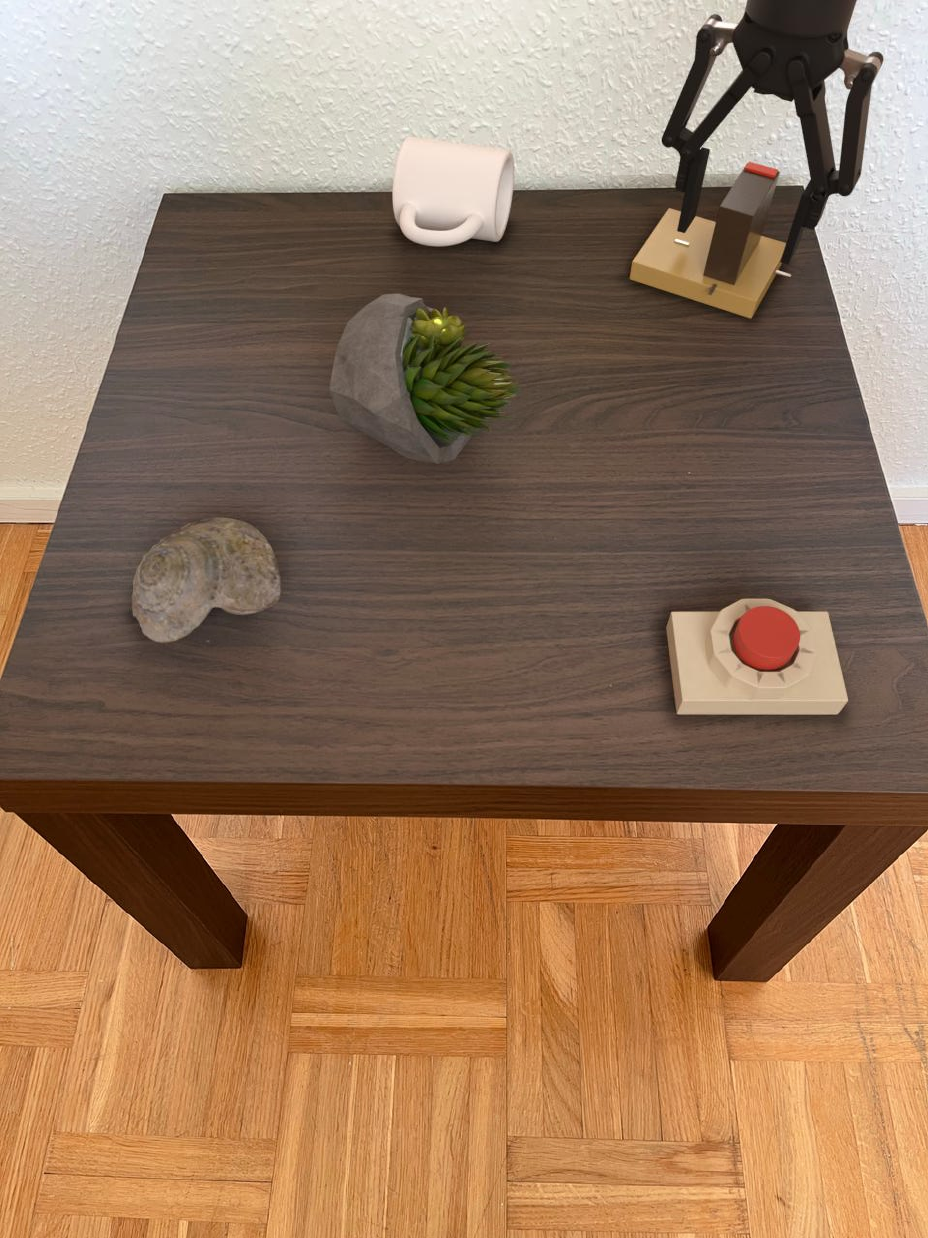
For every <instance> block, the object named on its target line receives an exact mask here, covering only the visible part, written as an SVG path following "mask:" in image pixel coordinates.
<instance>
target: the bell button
mask: <svg viewBox="0 0 928 1238" xmlns="http://www.w3.org/2000/svg"><path fill="white" fill-rule="evenodd" d="M799 642H800V631H799V628H798V625H797V624H796V622H795V621H794V619H793V618H792V617H791V616H790V615H789V614H787V613H786V612H784V611H782V610H780V609H778V608H775V607H770V606H759V607H755V608H752V609H750V610H748V611H747V612H746V613H745V614H744V615H743V616H742V617H741V619H740V621H739V623H738V625H737V627H736V630H735V632H734V635H733V646H734V649H735V651H736V653H737V655H738V656H739V657H740V658H741V660H743V661H744V662H745V663H746V664H748V665H750V666H751V667H754V668H757V669H761V670H774V669H778V668H780V667H782V666H784V665H785V664H787V663H788V661H789V660H790V659H791V657H792V655H793V654H794V652H795V650H796V649H797V647H798V645H799Z"/></svg>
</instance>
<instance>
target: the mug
mask: <svg viewBox="0 0 928 1238" xmlns="http://www.w3.org/2000/svg"><path fill="white" fill-rule="evenodd" d="M514 185H515V158H514V154H513V152H512V151H511V150H509V149H503V148H495V147H490V146H489V147H488V146H483V145H474V144H468V143H460V142H454V141H447V140H439V139H432V138H425V137H418V136H408V137H406V138H405V139H404V140H403V142H402V143H401V145H400V147H399V151H398V152H397V156H396V161H395V165H394V170H393V179H392V193H391V194H392V195H391V196H392V210H393V215H394V219H395V222H396V224H397V225H398V226H399V227H400V230H401V232H402V234H403V235H404V236H405V237H406V238H407V239H408V240H410V241H412V242H414V243H416V244H419V245H421V246H422V245H423V246H427V247H449V246H455V245H459V244H462V243H464V242H467V241H468V240H470V239H474V240H480V241H485V242H492V243H498V242H499V241H500V240H501V239H502V238H503V236H504V234H505V232H506V228H507V225H508V221H509V217H510V213H511V208H512V202H513V194H514Z"/></svg>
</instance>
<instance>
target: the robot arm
mask: <svg viewBox="0 0 928 1238" xmlns="http://www.w3.org/2000/svg"><path fill="white" fill-rule="evenodd" d="M857 1H858V0H746V3H745V10H744V12H743V16H742V17H741V19H740V20H739V22H728V21H723V18H722V17H721V16H720V15H719V14H717V13H713V14H711V15H710V16H709V17H707V19H706V21H705V22H704V23H703V25H702V26H701V27H700V29H699V30H698V31H697V33H696V38H695V48H694V50H695V51H694V59H693V63H692V65H691V67H690V69H689V71H688V74H687V76H686V79H685V81H684V84H683V85H682V86H683V87H682V89H681V91H680V93H679V96H678V98H677V100H676V103H675V104H674V108H673V109H672V112H671V115H670V117H669V120H668V122H667V124H666V126H665V129H664V131H663V134H662V136H661V144H662V146H663V147H664V148H667V149H670V148H672V149H674V150H675V151H677V153H678V155H679V163H678V168H677V174H676V179H675V182H674V183H675V184H674V185H675V191H678V192H679V193H680V192H681V193H684V195H683V199H682V205H681V209H680V211H681V214H680V219H679V224H678V228H677V231H679V232H682V233H685V232H686V231H687V229H688V228H689V226H690V224H691V223H692V221H693V220H694V218H695V217H696V216H697V212H698V208H699V203H700V199H701V194H702V189H703V185H704V180H705V175H706V170H707V166H708V162H709V157H710V153H711V149H710V148H707V147H703V145H705V144H706V142H707V141H708V140H709V138H710V137H711V136H712V135H713V133H715V131H716V130H717V129H718V127H719V126H720V125H721V124H722V123H723V121H724V120H725V119H726V117H727V116H728V115H729V114H730V113H731V111H732V110H733V109H734V108H735V107H736V106H737V104H738V103H739V102H740V101H741V99H743V97H744V96H745V95H746V94H747V93H748V91H749V90H750V89H751V88H752V89H753V93H755V94H759V95H761V96H763V95H765V96H766V95H773V96H775V97H776V98H779V99H781V100H783V101H786V102H790V103H794V108H795V113H796V116H797V117H798V118H799V122H800V127H801V132H802V133H801V134H802V138H803V144H804V149H805V154H806V161H807V166H808V171H809V178H810V180H809V182H808V183H807V185H806V186H805V188H804V190H803V192H802V194H801V196H800V199H799V203H798V205H797V209H796V212H795V214H794V218H793V221H792V224H791V227H790V230H789V233H788V236H787V239H786V242H785V243H786V245H785V248H784V252H783V255H782V258H781V261H780V262H781V263H782V264H785V265H787V266H788V265H789V264H790V262H791V261H792V259H793V256H794V255H795V254H796V252H797V250H798V248H799V245H800V242H801V239H802V236H803V233H804V231H805V229H808V230H812V231H813V230H815V228H816V227H817V226H818V225H819V222H820V221H821V219H822V217H823V215H824V211H825V209H826V206H827V204H828V200H829V198H830V196H832V195H839V196H841V197H848V196H851V194H852V193H853V192H854V189H855V187H856V185H857V183H858V182H859V180H860V178H861V175H862V171H863V170H862V169H863V160H864V154H865V153H864V152H865V144H866V137H867V128H868V121H869V114H870V113H869V112H870V103H871V97H872V87H873V84H874V82H875V80H876V78H877V76H878V74H879V72H880V70H881V68H882V66H883V63H884V55H883V54H882V53H881V52H880V51H872V52H870V53H869V54H868V55H866V54H863V53H860V52H858V51H856V50H852V49H851V48H850V46H849V40H848V30H849V26H850V23H851V20H852V17H853V14H854V11H855V8H856V4H857ZM728 44H732V46H733V49H734V51H735V53H736V56H737V59H738V61H739V64H740V67H741V69H742V70H741V71H740V73H739V74H738V75H737V76H736V78H735V79H734V80H733V81H732V82H731V84H730V85H729V86H728V88H726V90H725V91H724V92H723V94H722V95H721V96H720V98H719V99H718V100H717V102H715V104H713V105H714V106H712V108H711V109H710V110H709V111H708V113H707V114H706V115H705V117H704V118H703V119H702V120H701V122H700V123H699V124H698V125H697V126H696V128H695V129H694V130H693V131H691V130H690V129H689V128H688V127H687V126H688V124H689V121H690V119H691V116H692V114H693V112H694V110H695V107H696V105H697V103H698V100H699V98H700V96H701V94H702V91H703V89H704V87H705V85H706V82H707V80H708V78H709V75H710V73H711V71H712V69H713V68H714V64H715V62H716V60H717V57H718V56H721V55H722V54H723V52H724V51H725V50H726V49H727V47H728ZM839 69H840V70H841V71H842V72H843V75H844V78H843V85H844V87H845V89H846V90H849V92H848V94H847V99H846V101H845V108H844V109H845V110H844V118H843V128H842V139H841V149H840V157H839V158H840V159H839V166H838V170H837V168H836V167H837V166H836V160H835V155H834V148H833V142H832V136H831V130H830V123H829V118H828V110H827V105H826V94H827V93H826V91H827V88H826V83H825V80H826V79H828V78H829V77H831V76H832V74H834V73H835V72H836V71H837V70H839Z"/></svg>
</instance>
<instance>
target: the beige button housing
mask: <svg viewBox="0 0 928 1238" xmlns="http://www.w3.org/2000/svg"><path fill="white" fill-rule="evenodd" d="M759 606H770V607H775V608H778V609H780V610H782V611H784V612H786V613H787V614H789V615H790V616H791V617H792V618H793V619H794V621H795V622H796V624H797V625H798V628H799V631H800V642H799V645H798V647H797V649H796V650H795V652H794V654H793V655H792V657H791V659H790V660H789V661H788V663H787V664H785V665H784V666H782V667H780V668H778V669H774V670H761V669H757V668H754V667H751V666H750V665H748V664H746V663H745V662H744V661H743V660H741V658H740V657H739V656H738V655H737V653H736V651H735V649H734V646H733V635H734V632H735V630H736V627H737V625H738V623H739V621H740V619H741V617H742V616H743V615H744V614H745V613H746V612H747V611H748V610H750V609H752V608H755V607H759ZM665 628H666V637H667V638H666V639H667V646H668V654H669V655H668V656H669V663H670V671H671V679H672V687H673V696H674V704H675V705H674V706H675V710H676V715H826V716H827V715H828V716H829V715H833V716H834V715H839V714H840V712H841V711H842V710H843V708H844V707H845V706H846V704H847V703H848V702H849V697H848V693H847V689H846V684H845V680H844V676H843V675H844V674H843V671H842V668H841V662H840V657H839V653H838V649H837V645H836V640H835V637H834V636H835V635H834V633H833V629H832V624H831V619H830V614H829V612H828V611H797V610H795V608H792V607H789V606H787V605H785V604H783V603H780V602H778V601H776V600H774V599H771V598H741V599H738V601H735V602H733V603H731V604H730V605H728V606H726V607H724V608H722V609H721V610H720V611H671V612H670V615H669V618H668V621H667V624H666V627H665Z"/></svg>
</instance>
